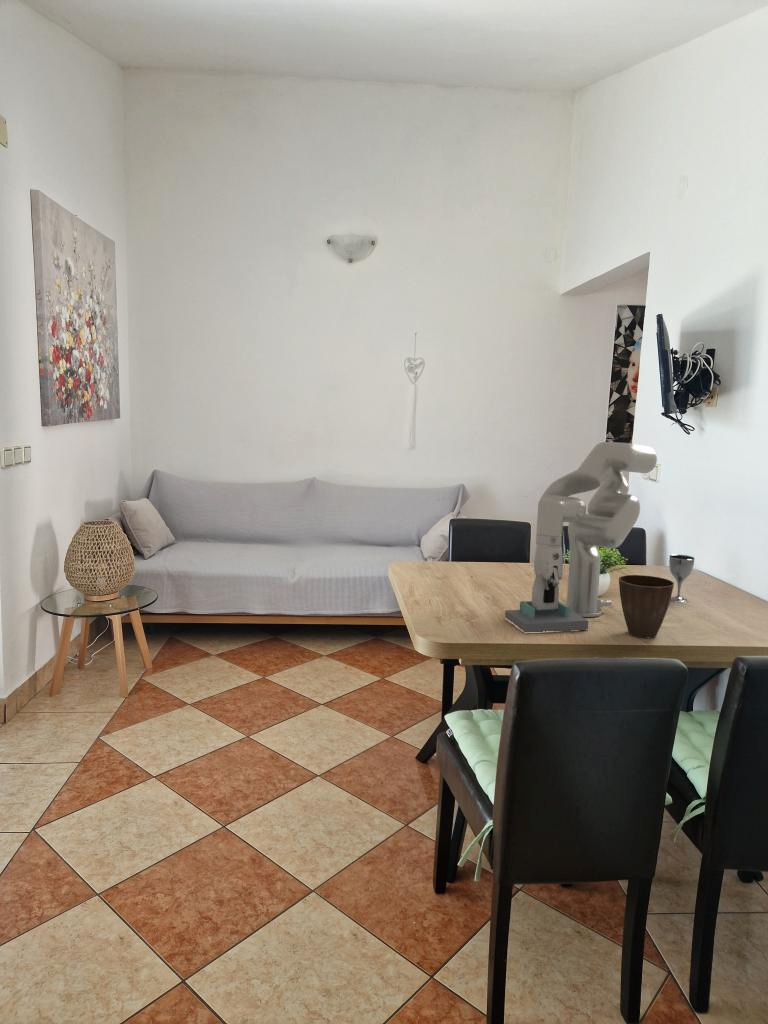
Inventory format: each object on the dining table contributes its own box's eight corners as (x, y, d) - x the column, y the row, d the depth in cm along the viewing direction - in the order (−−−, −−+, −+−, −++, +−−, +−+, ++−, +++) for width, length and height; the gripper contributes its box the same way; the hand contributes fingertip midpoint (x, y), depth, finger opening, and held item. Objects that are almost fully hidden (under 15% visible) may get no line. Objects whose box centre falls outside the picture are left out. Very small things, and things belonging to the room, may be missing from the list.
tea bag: (557, 608, 216) (559, 575, 215) (537, 609, 214) (539, 576, 213) (551, 605, 220) (553, 572, 218) (531, 606, 218) (533, 573, 217)
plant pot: (605, 633, 210) (609, 579, 208) (629, 623, 221) (633, 572, 219) (655, 646, 200) (659, 589, 198) (678, 635, 210) (682, 581, 208)
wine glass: (664, 600, 249) (668, 557, 247) (667, 595, 256) (670, 553, 254) (689, 603, 246) (693, 560, 243) (691, 598, 253) (695, 556, 250)
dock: (564, 616, 226) (565, 598, 225) (587, 630, 213) (589, 610, 212) (505, 619, 221) (505, 600, 220) (524, 634, 208) (525, 613, 207)
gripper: (574, 545, 207) (570, 607, 210) (547, 535, 223) (544, 593, 226) (550, 545, 205) (546, 608, 208) (525, 535, 221) (521, 593, 224)
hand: (545, 599), depth 217 cm, fingers closed on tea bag, 3 cm apart
